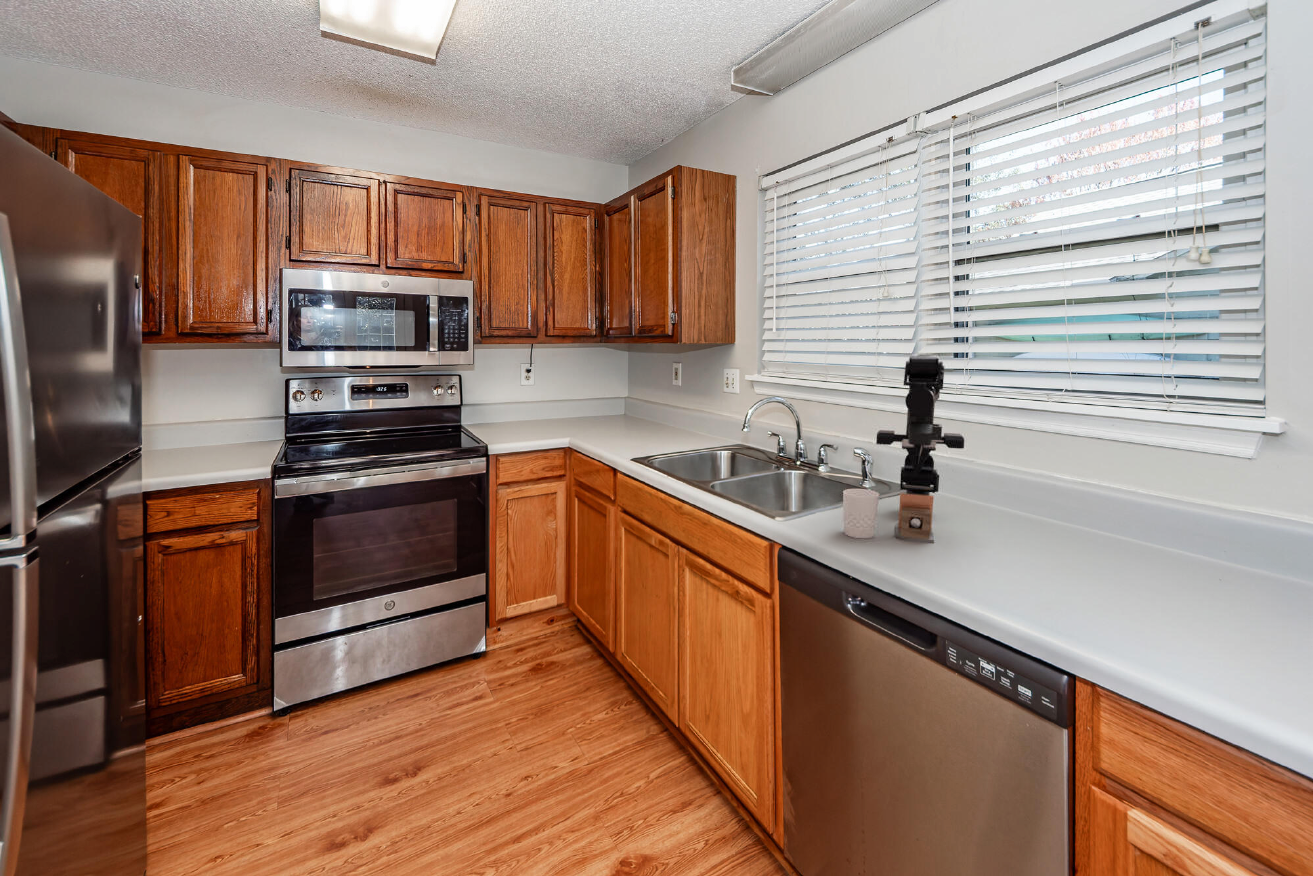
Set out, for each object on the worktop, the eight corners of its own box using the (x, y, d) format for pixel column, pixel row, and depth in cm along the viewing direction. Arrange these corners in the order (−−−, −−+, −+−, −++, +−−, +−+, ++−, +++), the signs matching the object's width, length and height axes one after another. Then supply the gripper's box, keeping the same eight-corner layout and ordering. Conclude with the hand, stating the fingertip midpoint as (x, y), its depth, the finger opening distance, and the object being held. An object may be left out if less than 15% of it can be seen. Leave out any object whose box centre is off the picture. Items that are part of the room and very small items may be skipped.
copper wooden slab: (898, 528, 137) (900, 492, 136) (930, 531, 134) (933, 495, 133) (898, 534, 132) (900, 497, 131) (931, 538, 130) (934, 500, 128)
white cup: (870, 541, 131) (873, 498, 129) (836, 535, 135) (838, 493, 134) (881, 532, 137) (883, 491, 135) (847, 526, 141) (849, 487, 140)
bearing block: (895, 525, 142) (897, 499, 141) (931, 529, 139) (933, 502, 138) (895, 538, 133) (897, 510, 132) (934, 542, 130) (936, 514, 129)
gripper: (877, 411, 133) (873, 478, 135) (969, 414, 125) (963, 485, 128) (878, 407, 143) (875, 469, 145) (964, 409, 136) (959, 475, 138)
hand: (916, 474), depth 139 cm, fingers closed
